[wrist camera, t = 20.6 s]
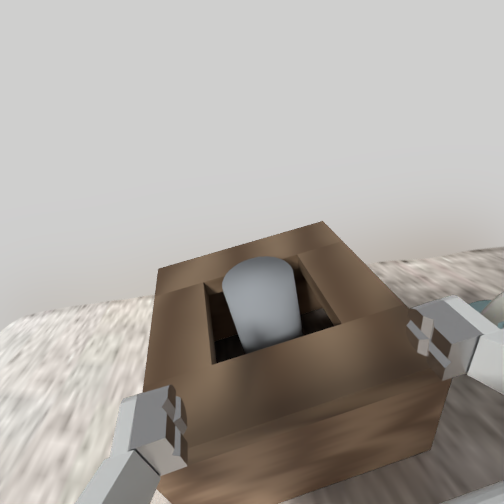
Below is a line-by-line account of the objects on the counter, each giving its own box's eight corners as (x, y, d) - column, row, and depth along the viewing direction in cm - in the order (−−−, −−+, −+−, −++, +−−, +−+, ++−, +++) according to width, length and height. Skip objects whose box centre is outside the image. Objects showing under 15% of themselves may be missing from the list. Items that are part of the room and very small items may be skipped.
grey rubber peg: (299, 351, 28) (281, 249, 21) (319, 397, 24) (304, 289, 17) (252, 366, 27) (218, 268, 21) (264, 416, 23) (227, 313, 17)
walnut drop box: (328, 297, 33) (322, 221, 27) (430, 449, 19) (458, 358, 14) (192, 339, 32) (158, 268, 26) (200, 530, 18) (133, 466, 13)
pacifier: (409, 337, 27) (480, 385, 22) (414, 286, 24) (499, 329, 19) (459, 300, 29) (533, 337, 24) (470, 249, 26) (558, 279, 21)
